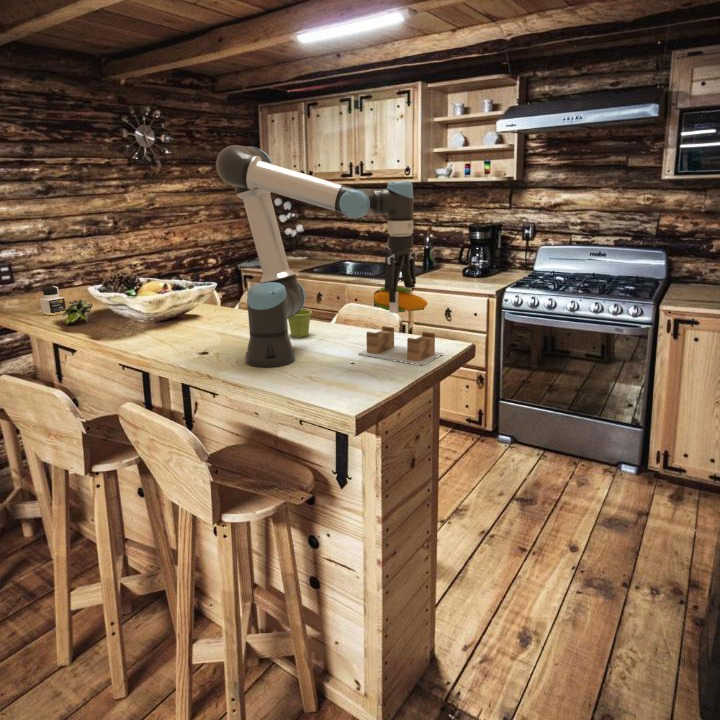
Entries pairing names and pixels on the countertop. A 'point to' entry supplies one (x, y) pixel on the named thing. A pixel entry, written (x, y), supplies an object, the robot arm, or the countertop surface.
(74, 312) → the leafy green plant
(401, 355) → the mat
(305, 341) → the countertop surface
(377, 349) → the wooden brackets on board
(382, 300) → the corn
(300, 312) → the plant pot
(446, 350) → the countertop surface
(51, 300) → the medicine bottle
